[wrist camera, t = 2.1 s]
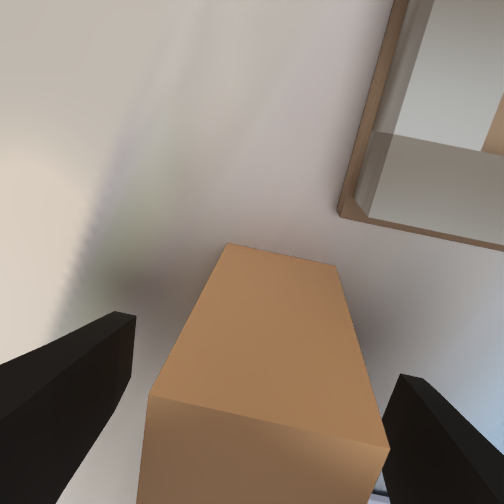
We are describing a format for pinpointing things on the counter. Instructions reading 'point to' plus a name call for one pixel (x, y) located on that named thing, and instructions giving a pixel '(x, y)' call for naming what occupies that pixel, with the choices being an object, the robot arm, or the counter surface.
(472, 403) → the counter surface
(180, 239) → the counter surface
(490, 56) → the socket block
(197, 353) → the peg
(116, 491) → the counter surface
